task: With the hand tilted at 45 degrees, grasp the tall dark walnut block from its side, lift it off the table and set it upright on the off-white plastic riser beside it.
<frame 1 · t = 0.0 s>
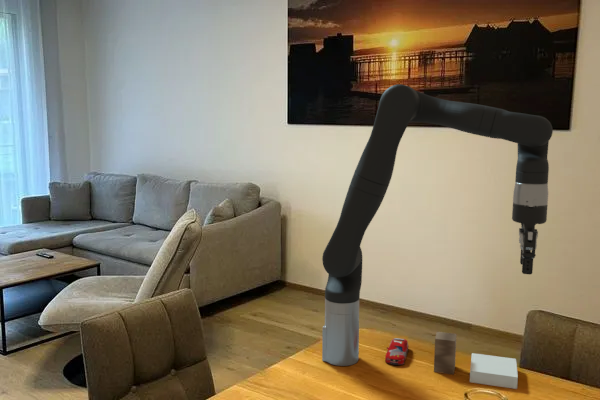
hand: (525, 269, 132), 29 cm above the table, tool pointing down, fingers open, 8 cm apart
walnut block: (444, 369, 145), on the table
race car: (397, 357, 153), on the table
riser: (493, 375, 141), on the table
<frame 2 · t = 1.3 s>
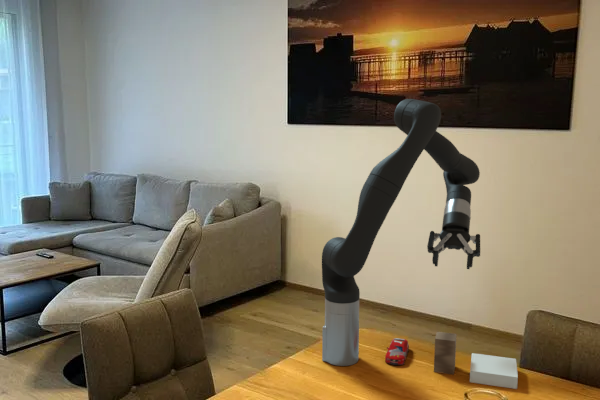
hand: (451, 266, 152), 25 cm above the table, tool tilted 45°, fingers open, 8 cm apart
nothing on the table moved.
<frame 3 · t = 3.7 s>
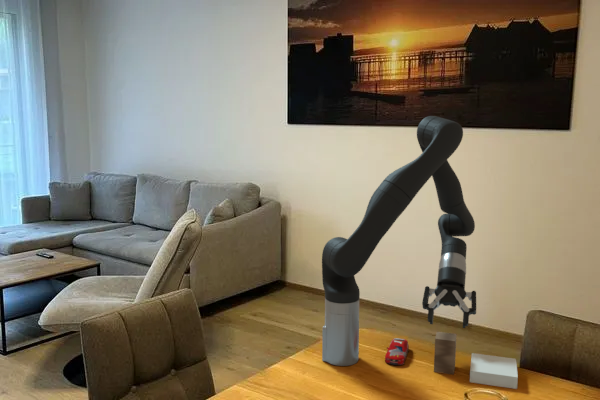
hand: (447, 325, 149), 10 cm above the table, tool tilted 45°, fingers open, 8 cm apart
nothing on the table moved.
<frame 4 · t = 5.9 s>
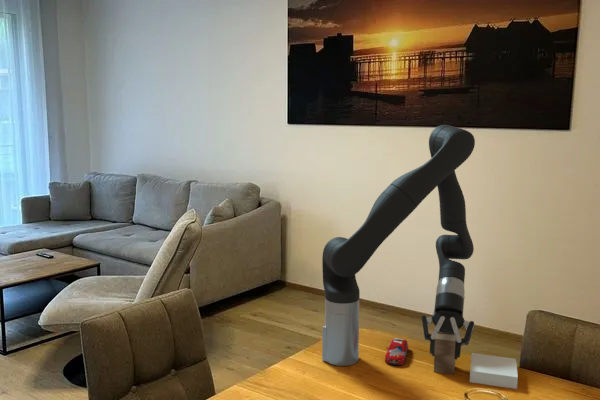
hand: (444, 356, 143), 4 cm above the table, tool tilted 45°, fingers closed on walnut block, 5 cm apart
walnut block: (444, 368, 145), on the table, touching gripper
everything else where it was.
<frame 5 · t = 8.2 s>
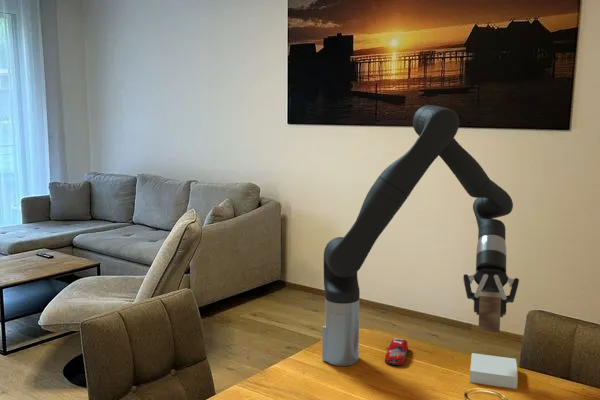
hand: (489, 314, 138), 17 cm above the table, tool tilted 45°, fingers closed on walnut block, 5 cm apart
walnut block: (488, 327, 140), point 12 cm above the table, touching gripper
everything else where it was.
when the fingers open (8 cm above the table, at t = 10.3 s): walnut block stays where it is, resting on riser.
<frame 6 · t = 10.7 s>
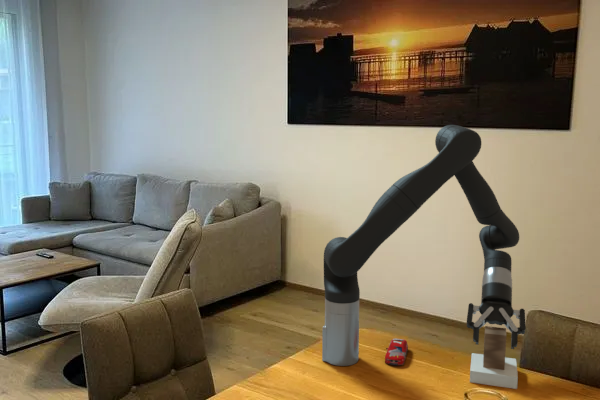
hand: (494, 345, 139), 9 cm above the table, tool tilted 45°, fingers open, 8 cm apart
walnut block: (493, 364, 141), point 3 cm above the table, touching riser
everything else where it was.
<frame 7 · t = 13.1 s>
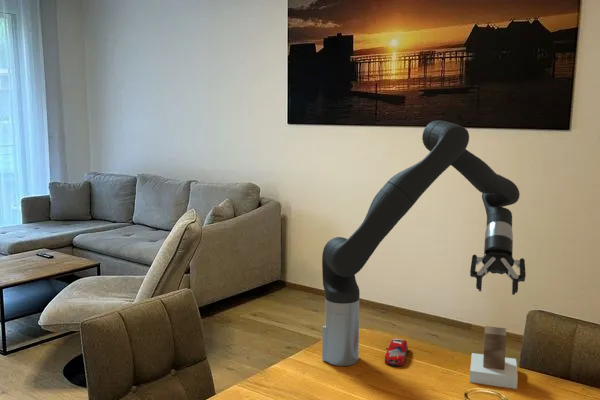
hand: (496, 291, 149), 19 cm above the table, tool tilted 45°, fingers open, 8 cm apart
nothing on the table moved.
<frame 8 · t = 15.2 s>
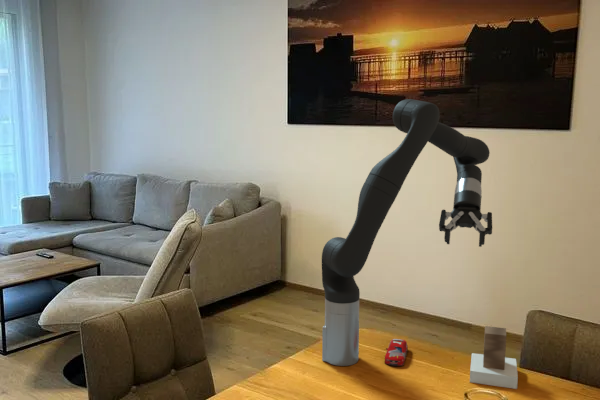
hand: (464, 243, 152), 31 cm above the table, tool tilted 45°, fingers open, 8 cm apart
nothing on the table moved.
at the end: walnut block inside the target area on the riser (0.1 cm from its centre), point 3.0 cm above the riser's base; walnut block tilted 0°; the gripper is holding nothing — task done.
